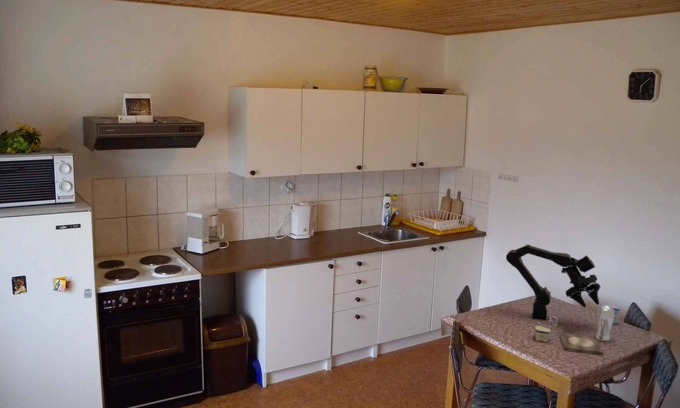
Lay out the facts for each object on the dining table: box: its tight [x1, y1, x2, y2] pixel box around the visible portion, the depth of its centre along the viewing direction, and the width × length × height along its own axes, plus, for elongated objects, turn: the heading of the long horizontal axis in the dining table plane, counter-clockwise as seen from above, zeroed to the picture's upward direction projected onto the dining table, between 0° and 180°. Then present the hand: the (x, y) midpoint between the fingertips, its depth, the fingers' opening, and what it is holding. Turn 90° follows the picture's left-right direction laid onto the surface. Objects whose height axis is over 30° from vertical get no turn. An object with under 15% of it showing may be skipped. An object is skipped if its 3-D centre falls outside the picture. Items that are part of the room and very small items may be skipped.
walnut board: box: [559, 333, 604, 356], centre depth 259 cm, size 16×16×2 cm
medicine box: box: [602, 303, 621, 326], centre depth 289 cm, size 8×4×9 cm, turn 62°
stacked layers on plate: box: [534, 325, 551, 343], centre depth 264 cm, size 10×9×6 cm
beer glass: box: [595, 305, 614, 342], centre depth 267 cm, size 7×7×15 cm
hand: (591, 305), depth 273 cm, fingers open, 9 cm apart
